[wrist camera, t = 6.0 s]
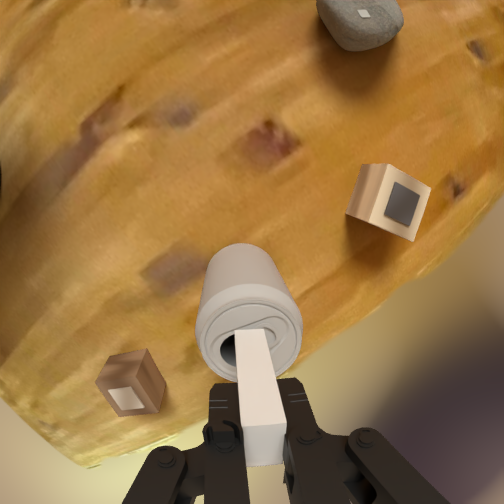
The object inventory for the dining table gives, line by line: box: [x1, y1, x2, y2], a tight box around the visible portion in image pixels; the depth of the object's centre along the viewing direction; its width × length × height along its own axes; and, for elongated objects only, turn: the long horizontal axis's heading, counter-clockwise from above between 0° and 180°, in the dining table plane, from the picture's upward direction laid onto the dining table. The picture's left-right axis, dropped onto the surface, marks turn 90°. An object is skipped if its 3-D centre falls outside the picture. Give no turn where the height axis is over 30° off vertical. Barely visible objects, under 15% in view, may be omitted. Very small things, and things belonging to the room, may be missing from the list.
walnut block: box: [95, 348, 166, 417], centre depth 27 cm, size 5×5×5 cm
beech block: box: [345, 164, 431, 242], centre depth 24 cm, size 5×5×5 cm
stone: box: [316, 0, 404, 51], centre depth 19 cm, size 9×9×10 cm
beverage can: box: [195, 243, 303, 382], centre depth 21 cm, size 6×6×12 cm
